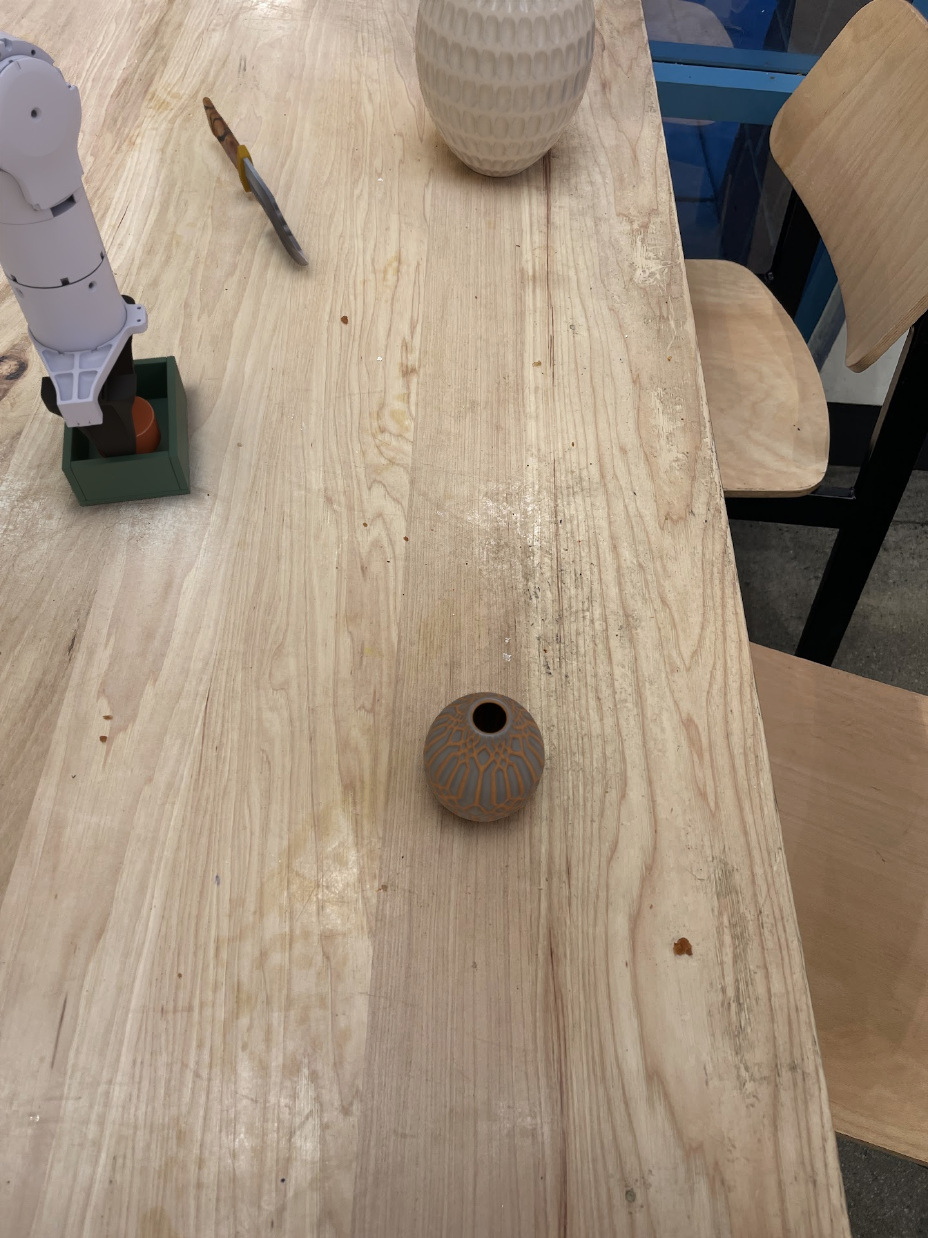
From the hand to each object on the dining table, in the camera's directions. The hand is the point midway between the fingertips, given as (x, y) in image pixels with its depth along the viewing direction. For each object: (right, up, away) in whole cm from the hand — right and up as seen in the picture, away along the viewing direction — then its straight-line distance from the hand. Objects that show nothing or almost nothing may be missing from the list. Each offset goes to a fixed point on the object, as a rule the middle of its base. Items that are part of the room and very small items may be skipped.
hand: (121, 426), depth 62 cm
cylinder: (0, -1, +1) cm, 1 cm away
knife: (+5, +24, +20) cm, 32 cm away
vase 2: (+25, -23, -9) cm, 36 cm away
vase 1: (+27, +33, +27) cm, 51 cm away
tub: (0, -1, +4) cm, 4 cm away
